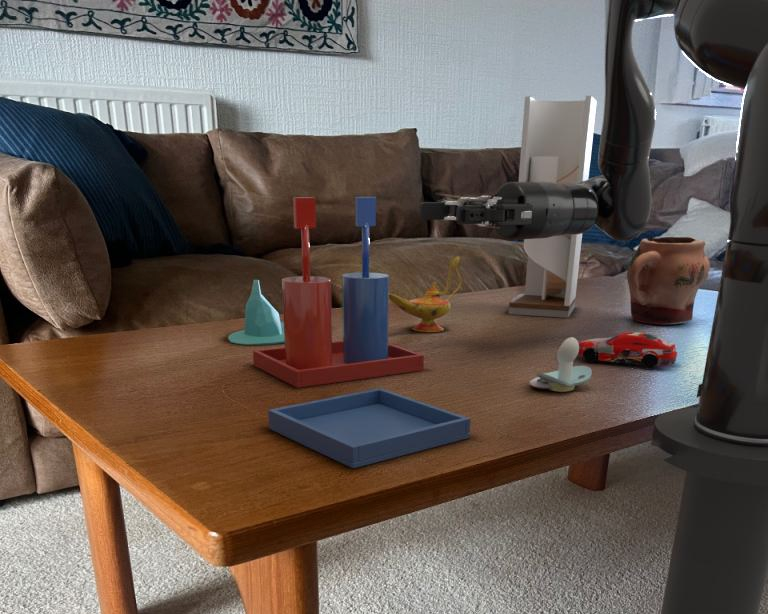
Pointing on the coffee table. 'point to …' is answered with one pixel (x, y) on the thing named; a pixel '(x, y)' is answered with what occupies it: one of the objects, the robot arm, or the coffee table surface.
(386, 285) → the blue pot
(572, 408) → the coffee table surface
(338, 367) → the red tray
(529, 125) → the display case
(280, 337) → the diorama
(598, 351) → the race car
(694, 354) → the coffee table surface
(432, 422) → the blue tray
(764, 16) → the robot arm
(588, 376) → the pacifier
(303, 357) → the red spoon pot
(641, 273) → the decorative planter
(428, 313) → the magic lamp
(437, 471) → the coffee table surface
